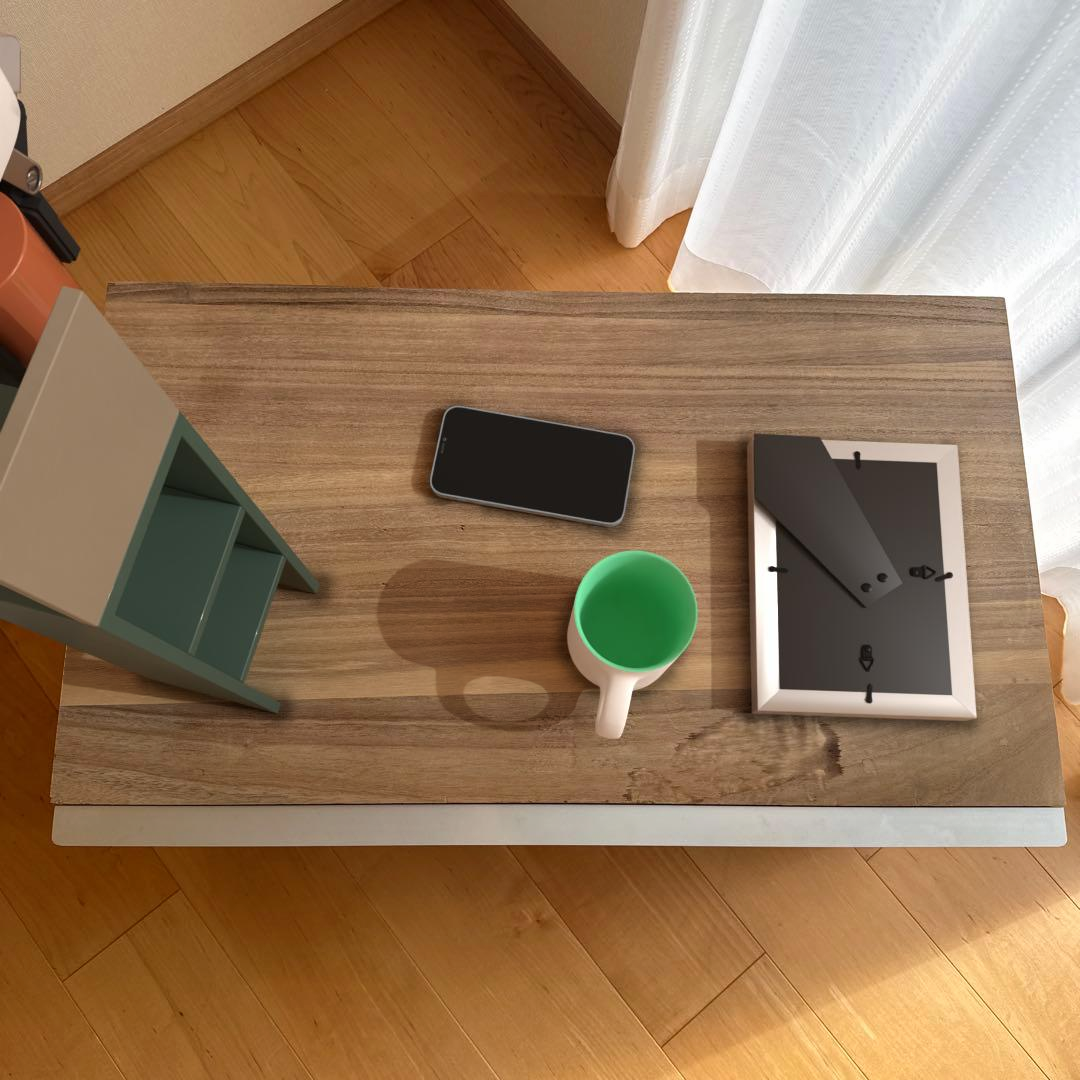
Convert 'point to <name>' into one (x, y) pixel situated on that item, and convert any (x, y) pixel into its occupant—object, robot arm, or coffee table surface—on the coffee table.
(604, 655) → the mug
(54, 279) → the canister
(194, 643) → the shelf
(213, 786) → the coffee table surface
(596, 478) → the smartphone
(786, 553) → the picture frame
